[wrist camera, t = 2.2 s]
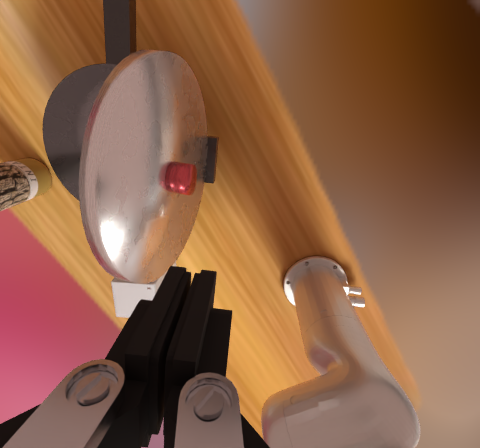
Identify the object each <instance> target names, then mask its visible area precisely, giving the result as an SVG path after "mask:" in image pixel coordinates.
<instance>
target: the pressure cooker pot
mask: <svg viewBox="0 0 480 448" xmlns="http://www.w3.org/2000/svg"><path fill="white" fill-rule="evenodd" d="M103 8H104V28H105V48H106V64H95V65H90V66H86V67H83V68H81V69H78V70H76V71H74V72H73V73H71V74H70V75H68V76H67V77H65V78H64V79H63V80H62V81H61V82H60V83H59V84H58V86H57V87H56V88H55V90H54V91H53V92H52V94H51V96H50V98H49V100H48V103H47V106H46V108H45V113H44V118H43V140H44V145H45V150H46V153H47V156H48V159H49V161H50V164H51V166H52V168H53V170H54V172H55V173H56V175H57V177H58V178H59V180H60V181H61V182H62V184H63V185H64V186H65V188H66V189H67V190H68V191H69V192H70V193H71V194H72V195H73V196H74V197H75V198H77V199H78V200H79V201H80V198H79V170H80V158H81V151H82V144H83V138H84V134H85V130H86V126H87V122H88V118H89V115H90V113H91V110H92V107H93V105H94V102H95V99H96V97H97V95H98V93H99V91H100V89H101V87H102V85H103V83H104V82H105V80H106V79H107V77H108V76H109V74H110V73H111V72H112V70H113V69H114V68H115V67H116V66H117V65H118V64H119V63H120V62H121V61H122V60H123V59H124V58H126V57H127V56H129V55H130V54H132V53H134V52H136V0H103ZM207 140H208V142H207V165H206V174H205V181H204V182H206V183H214V181H215V174H216V163H217V151H218V140H219V137H214V136H207Z"/></svg>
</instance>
